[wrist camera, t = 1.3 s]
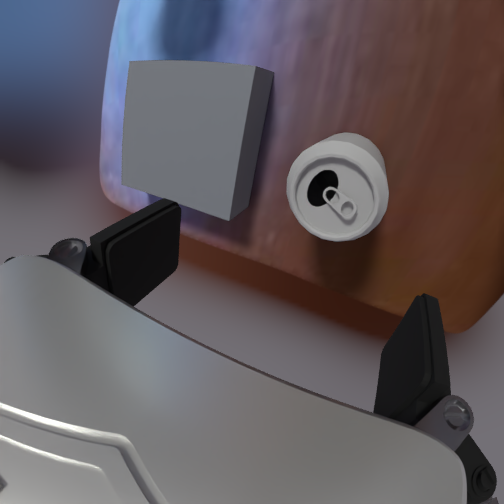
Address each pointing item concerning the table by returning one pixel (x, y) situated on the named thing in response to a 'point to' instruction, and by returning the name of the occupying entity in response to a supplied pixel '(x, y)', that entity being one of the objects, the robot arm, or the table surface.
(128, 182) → the grey block
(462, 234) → the table surface
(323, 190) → the can
